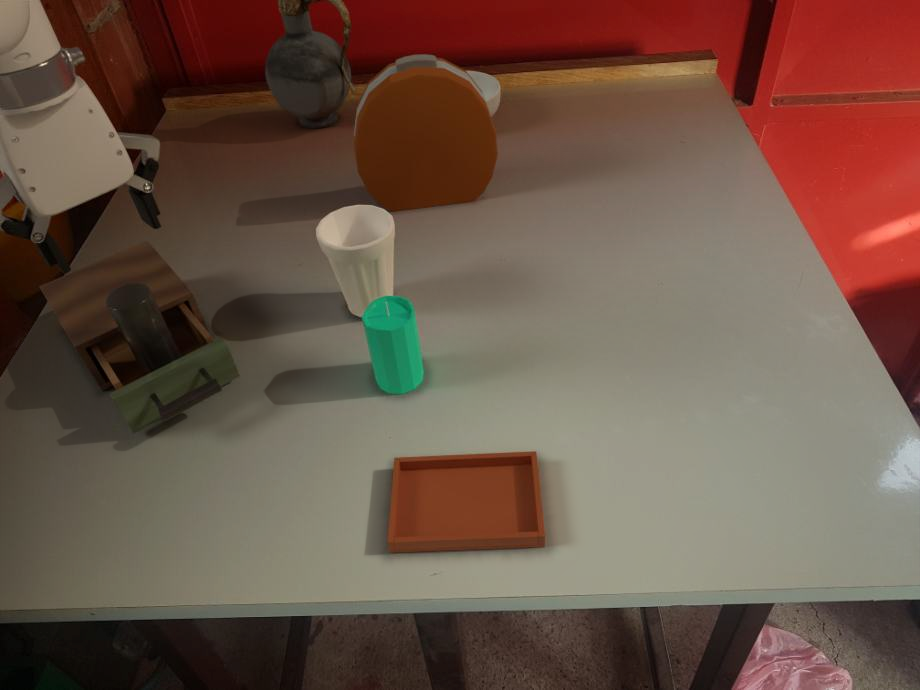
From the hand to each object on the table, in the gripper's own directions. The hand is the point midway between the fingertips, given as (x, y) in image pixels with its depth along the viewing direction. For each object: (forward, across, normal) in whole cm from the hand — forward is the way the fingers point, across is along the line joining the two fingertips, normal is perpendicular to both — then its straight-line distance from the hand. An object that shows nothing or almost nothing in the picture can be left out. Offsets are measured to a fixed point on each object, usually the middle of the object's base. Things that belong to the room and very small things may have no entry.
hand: (108, 245), depth 71 cm
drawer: (+21, 0, -2) cm, 21 cm away
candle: (+22, -20, +18) cm, 35 cm away
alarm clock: (+23, -52, -10) cm, 58 cm away
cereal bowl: (+23, -73, -24) cm, 80 cm away
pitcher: (+23, -57, -46) cm, 76 cm away
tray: (+22, -12, +38) cm, 45 cm away
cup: (+22, -26, +5) cm, 35 cm away
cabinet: (+22, -1, -15) cm, 27 cm away
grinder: (+20, 0, -3) cm, 20 cm away
